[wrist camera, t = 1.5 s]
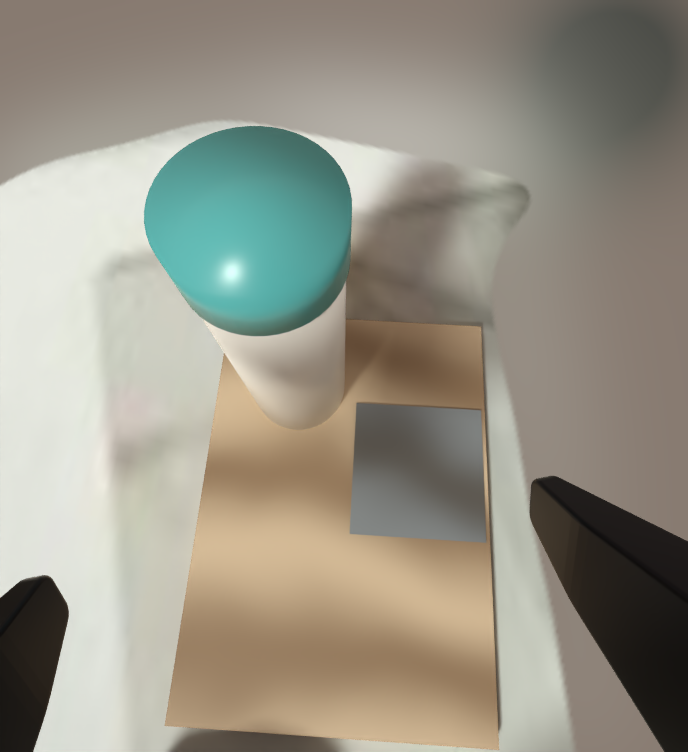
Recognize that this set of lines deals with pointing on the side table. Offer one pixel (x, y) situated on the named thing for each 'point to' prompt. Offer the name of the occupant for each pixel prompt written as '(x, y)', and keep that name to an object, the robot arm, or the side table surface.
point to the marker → (262, 261)
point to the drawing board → (348, 556)
